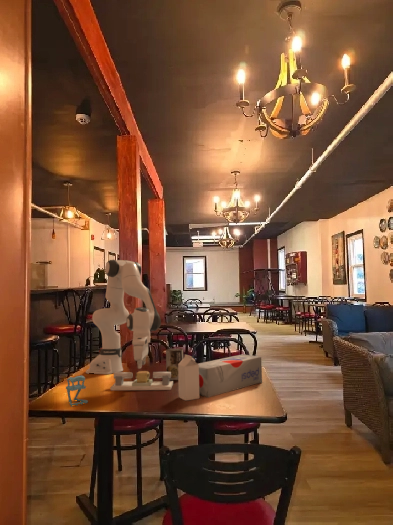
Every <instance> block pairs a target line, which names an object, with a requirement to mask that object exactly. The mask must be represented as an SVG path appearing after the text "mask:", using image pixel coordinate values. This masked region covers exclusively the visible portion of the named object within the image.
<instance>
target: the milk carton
mask: <svg viewBox="0 0 393 525" xmlns="http://www.w3.org/2000/svg"><path fill="white" fill-rule="evenodd" d="M198 364H199V363H197V362H196V360H195V358H193V356H190V355H188V354H184V356H183V359H182V361H181V362H180V363H179V364H178V380H177V381H178V398H180V399H182V400H183V401H192V400H197V399H200V395H199V365H198Z"/></svg>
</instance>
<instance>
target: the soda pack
mask: <svg viewBox="0 0 393 525" xmlns="http://www.w3.org/2000/svg"><path fill="white" fill-rule="evenodd" d="M197 364H198V365H199V396H200V395H201V397H204V396H205V397H204V398H210V397H214V396H218V395H221V394H225V393H229V392H232V391H236V390H238V389H243V388H246V387H249V386H250V387H251V386H253V385H256V384H261V383H263V375H262V374H263V372H262V371H263V370H262V368H263V367H262V356H257V355H251V354H244V353H242V354H238V355H233V356H229V357H223V358H219V359H214V360H209V361H204V362H200V363H197Z"/></svg>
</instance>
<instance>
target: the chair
mask: <svg viewBox="0 0 393 525" xmlns="http://www.w3.org/2000/svg"><path fill="white" fill-rule="evenodd" d="M81 381H82V383H81V384H80V382H81ZM85 381H86V377H85V376H84V375H76V376H75V377H72V376H70V377H68V378H67V379H66V382H67V386H65V389H66V393H67V396H68V403H69V402H70V403H69V406H70V405H71V406H70V407H73V406H72V405H76V406H79V405H78V404H81V405H84V404H83V403H85V404H89V403H88V402H89V400H87V399H83V398H81V399H80V398H78V397H79V394H80V393H81V390H85V389H86V388H87V386H85ZM70 383H71V384H70ZM75 383H77V384H75ZM74 391H76V393H75V396H74V398H73V400H72V396H71V392H74ZM74 400H77V401H76V402H73V401H74ZM78 401H81V402H78Z"/></svg>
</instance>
